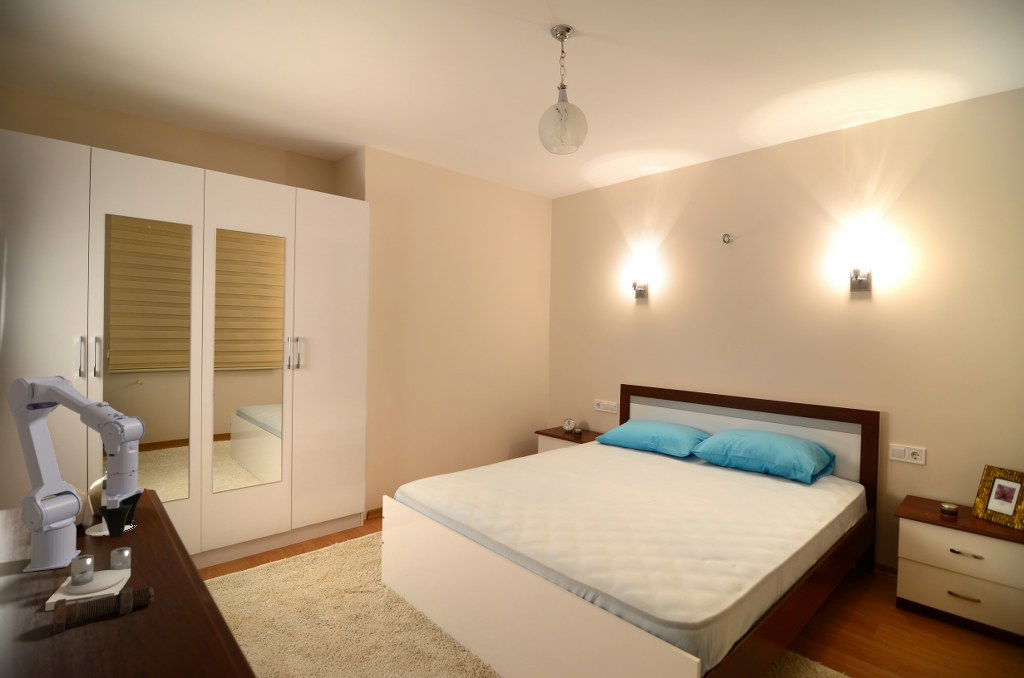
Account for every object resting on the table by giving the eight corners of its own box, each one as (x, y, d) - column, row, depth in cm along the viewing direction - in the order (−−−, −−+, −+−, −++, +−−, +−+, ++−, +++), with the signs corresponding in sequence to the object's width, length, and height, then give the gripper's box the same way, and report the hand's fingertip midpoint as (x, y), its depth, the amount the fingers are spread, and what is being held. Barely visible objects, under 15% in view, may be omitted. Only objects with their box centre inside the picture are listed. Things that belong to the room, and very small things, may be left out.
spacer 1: (74, 579, 110) (75, 555, 110) (95, 576, 111) (96, 553, 111) (68, 587, 106) (68, 562, 106) (89, 584, 108) (90, 559, 108)
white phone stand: (134, 531, 143) (135, 477, 143) (81, 539, 137) (82, 482, 137) (138, 518, 153) (139, 467, 153) (88, 525, 147) (89, 472, 147)
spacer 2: (113, 570, 120) (113, 548, 120) (132, 567, 121) (132, 545, 121) (108, 576, 116) (109, 554, 116) (128, 574, 118) (128, 551, 118)
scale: (69, 584, 112) (69, 573, 112) (131, 575, 117) (131, 564, 117) (44, 612, 101) (44, 599, 101) (114, 601, 105) (114, 589, 105)
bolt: (152, 615, 104) (52, 640, 94) (150, 594, 108) (53, 616, 98) (156, 595, 102) (54, 618, 92) (153, 574, 106) (55, 595, 96)
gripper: (135, 477, 114) (134, 539, 114) (151, 462, 127) (150, 518, 127) (95, 480, 111) (94, 544, 111) (115, 465, 124) (114, 522, 124)
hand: (121, 530), depth 119 cm, fingers open, 7 cm apart
